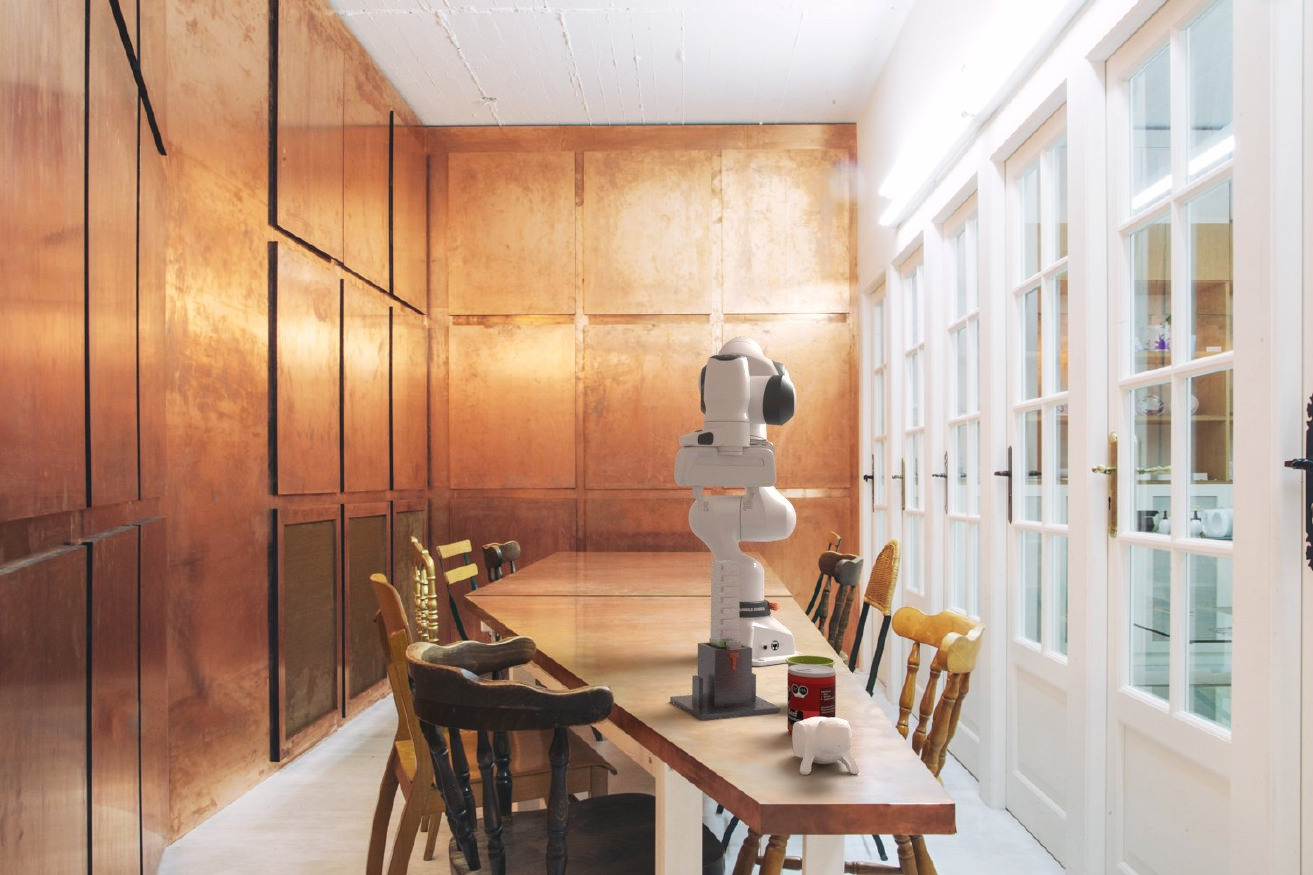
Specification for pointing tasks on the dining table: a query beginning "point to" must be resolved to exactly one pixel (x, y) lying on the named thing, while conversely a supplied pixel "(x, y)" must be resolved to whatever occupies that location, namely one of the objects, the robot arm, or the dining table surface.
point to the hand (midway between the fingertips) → (725, 511)
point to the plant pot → (810, 660)
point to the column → (724, 602)
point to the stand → (724, 685)
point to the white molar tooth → (823, 743)
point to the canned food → (810, 693)
